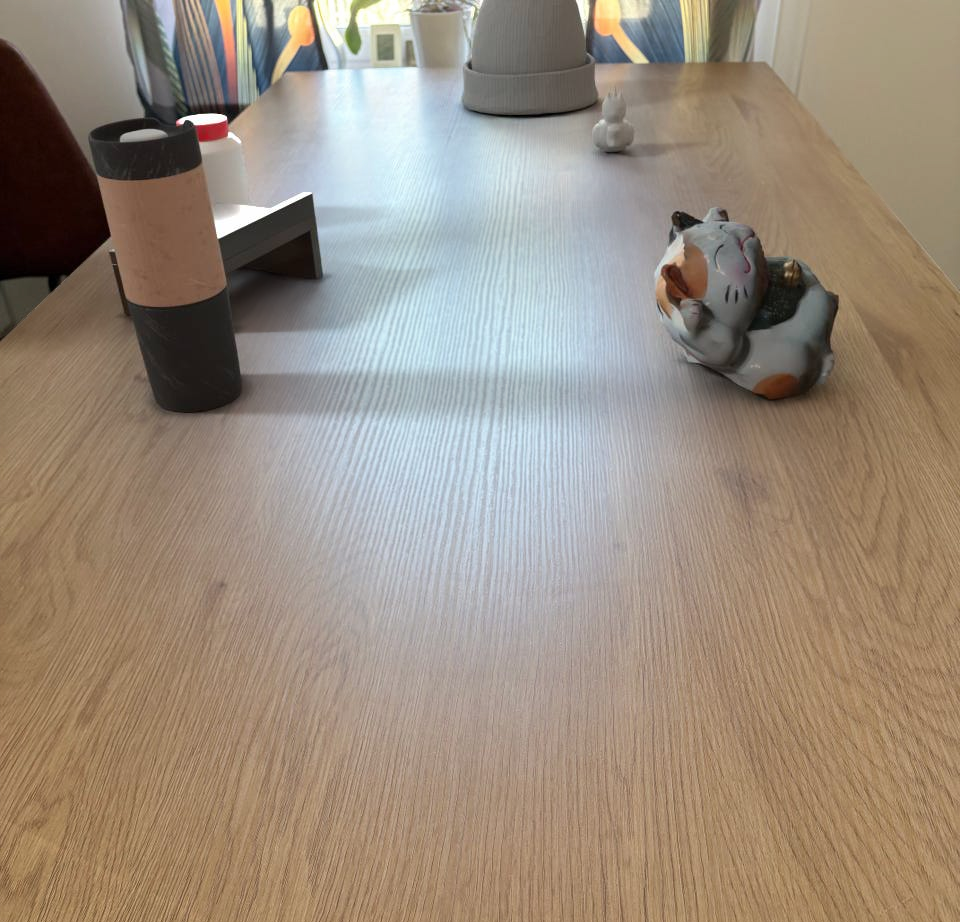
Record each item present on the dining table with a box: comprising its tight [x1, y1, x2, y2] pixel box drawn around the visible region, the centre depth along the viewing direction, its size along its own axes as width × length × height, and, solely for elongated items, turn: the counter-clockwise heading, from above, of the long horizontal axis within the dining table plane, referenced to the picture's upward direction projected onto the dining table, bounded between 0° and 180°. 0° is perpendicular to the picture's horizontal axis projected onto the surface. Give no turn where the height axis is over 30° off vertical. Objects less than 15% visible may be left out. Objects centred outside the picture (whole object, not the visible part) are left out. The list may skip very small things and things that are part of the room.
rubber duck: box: [591, 83, 635, 153], centre depth 139 cm, size 5×7×8 cm
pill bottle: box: [175, 113, 253, 206], centre depth 120 cm, size 8×8×11 cm
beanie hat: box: [460, 0, 599, 116], centre depth 163 cm, size 21×21×20 cm
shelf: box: [108, 191, 324, 316], centre depth 103 cm, size 12×16×8 cm
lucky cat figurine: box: [653, 206, 840, 401], centre depth 84 cm, size 15×12×14 cm
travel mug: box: [87, 117, 243, 413], centre depth 82 cm, size 8×8×20 cm
